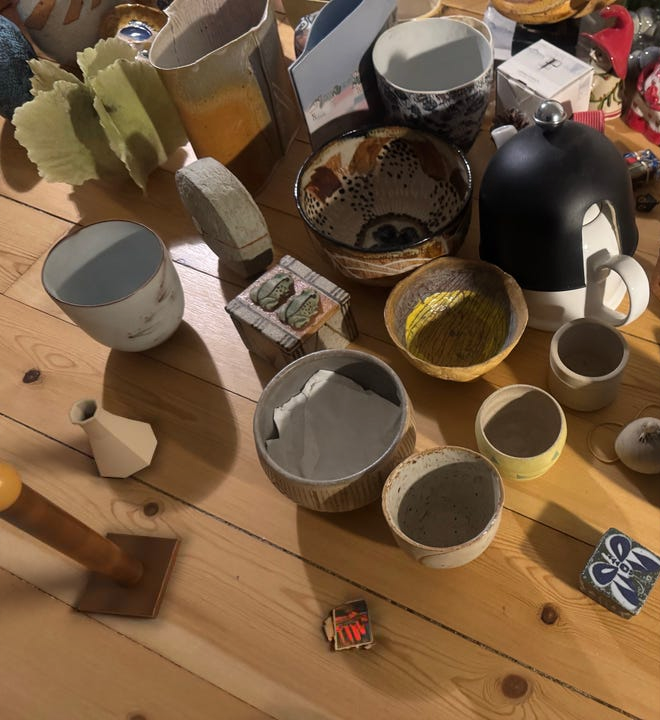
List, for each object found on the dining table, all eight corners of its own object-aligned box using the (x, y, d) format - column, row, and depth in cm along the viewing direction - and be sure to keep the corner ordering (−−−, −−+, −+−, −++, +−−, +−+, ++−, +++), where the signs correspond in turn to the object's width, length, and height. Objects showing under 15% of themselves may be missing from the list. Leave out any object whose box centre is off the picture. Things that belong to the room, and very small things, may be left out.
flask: (158, 471, 81) (118, 432, 73) (93, 486, 81) (45, 448, 72) (158, 416, 85) (119, 373, 77) (96, 430, 84) (50, 389, 76)
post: (82, 610, 73) (-105, 524, 51) (111, 535, 78) (-50, 425, 55) (156, 618, 73) (0, 533, 50) (181, 541, 77) (47, 432, 54)
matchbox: (363, 594, 73) (362, 593, 73) (382, 641, 71) (381, 640, 70) (320, 615, 72) (319, 614, 72) (337, 664, 70) (336, 663, 69)
